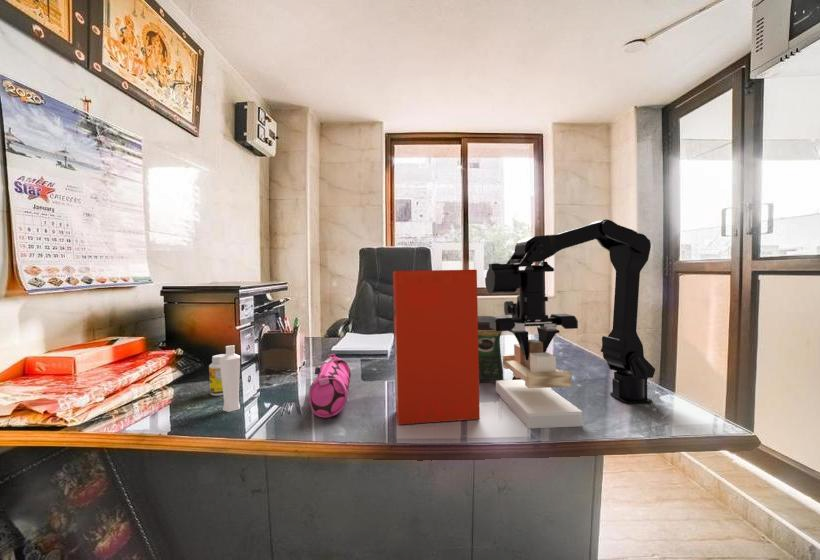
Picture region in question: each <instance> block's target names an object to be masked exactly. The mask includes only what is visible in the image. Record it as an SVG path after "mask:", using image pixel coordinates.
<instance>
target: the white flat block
mask: <svg viewBox="0 0 820 560" xmlns="http://www.w3.org/2000/svg"><path fill="white" fill-rule="evenodd" d="M495 393H496V394H497V393H498V394H499V395H500V396H499V395H498V394H497V395H498V396H499V398H501V399H502V400H503V401H504V403H505V402H506V403H507V404H508V405H507V404H506V403H505V404H506V405H507V406H508V407H509V408H510V409H511V410H512V412H513V413H514V414H515V415H516V416H517V417H518V418H519V420H520V421H521V422H522V423H523V424H524V425H525V426H526V427H527V428H528V429H529V430H530V429H550V428H569V427H570V428H574V427H583V411H582V410H581V409H579V408H578V407H577V406H576V405H574V404H573V403H571V402H570V401H569V400H567V399H566V398H564V397H563V396H561V395H560V394H558V393H557V392H556V391H554V389H552V388H551V387H549V388H528V387H527V386H525V381H524V380H512V379H506V380H505V379H504V380H503V379H502V380H498V381H496V382H495Z"/></svg>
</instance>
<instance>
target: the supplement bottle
mask: <svg viewBox="0 0 820 560" xmlns="http://www.w3.org/2000/svg"><path fill="white" fill-rule="evenodd" d="M225 355H226V353H220V354H216V355H212V357H211V363H210V364H209V365H208V373H209V377H208V378H209V393H210V395H211V396H215V397H219V396H223V387H222V378H221V369H220V360H219V359H220V358H221V357H223V356H225Z"/></svg>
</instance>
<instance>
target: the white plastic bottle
mask: <svg viewBox="0 0 820 560" xmlns="http://www.w3.org/2000/svg"><path fill="white" fill-rule="evenodd" d="M235 346H236V345H234V344H232V345H231V344H230V345H226V346H224V347H225V354H226V355H225V356H223V357H221V358H220V359H219V360H220V369H221V378H222V387H223V395H222V396H223V407H222V411H224V412H228V413H229V412H230V413H231V412H234V411H237V410H240V409H241V404H240V401H239V398H240V397H239V396H240V394H239V393H240V372H241V371H240V370H241V355H239V354H237V353H235V351H236V350H235V349H236V348H235Z"/></svg>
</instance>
